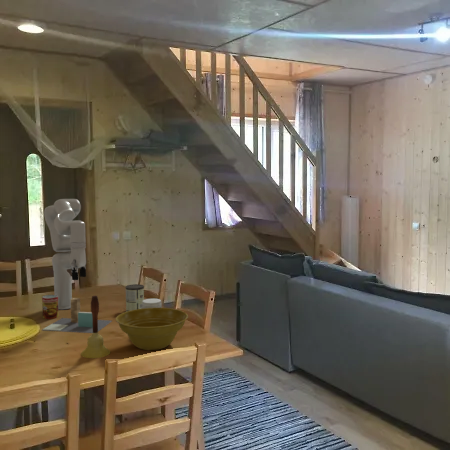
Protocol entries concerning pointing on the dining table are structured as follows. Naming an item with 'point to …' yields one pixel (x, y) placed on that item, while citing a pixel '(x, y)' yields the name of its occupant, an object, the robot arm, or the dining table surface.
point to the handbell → (95, 336)
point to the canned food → (50, 306)
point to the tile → (85, 319)
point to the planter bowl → (152, 326)
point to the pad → (55, 327)
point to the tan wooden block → (75, 309)
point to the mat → (74, 327)
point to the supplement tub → (151, 303)
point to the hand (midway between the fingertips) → (79, 278)
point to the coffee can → (134, 297)
